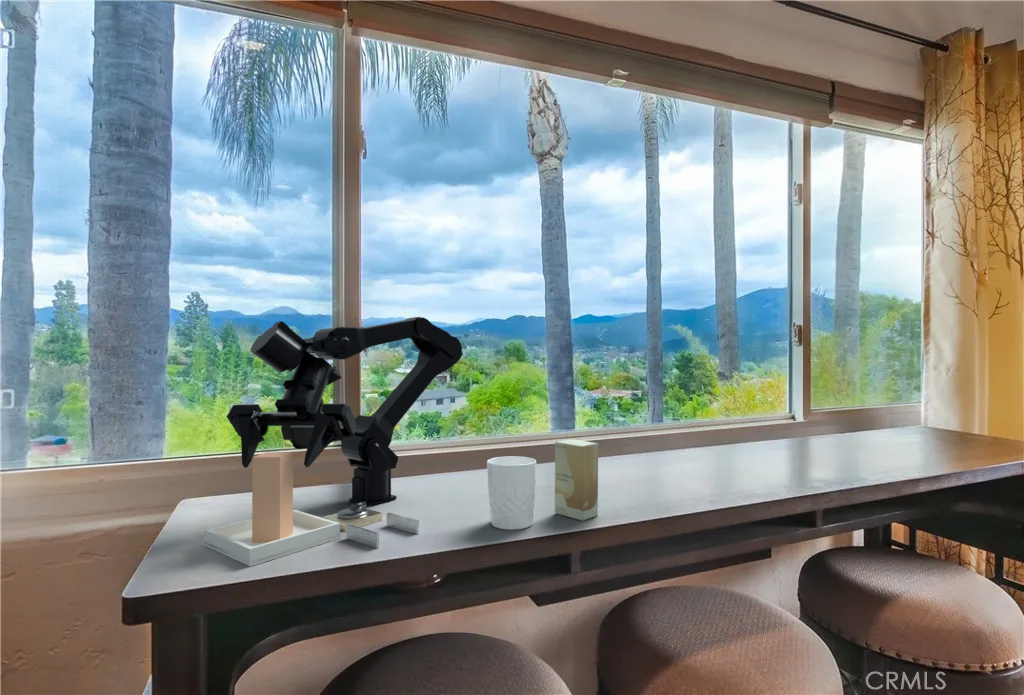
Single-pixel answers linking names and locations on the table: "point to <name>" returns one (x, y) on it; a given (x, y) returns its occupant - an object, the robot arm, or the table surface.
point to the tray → (240, 547)
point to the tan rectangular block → (272, 496)
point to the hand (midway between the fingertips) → (275, 466)
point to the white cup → (511, 491)
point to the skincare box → (576, 479)
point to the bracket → (362, 516)
